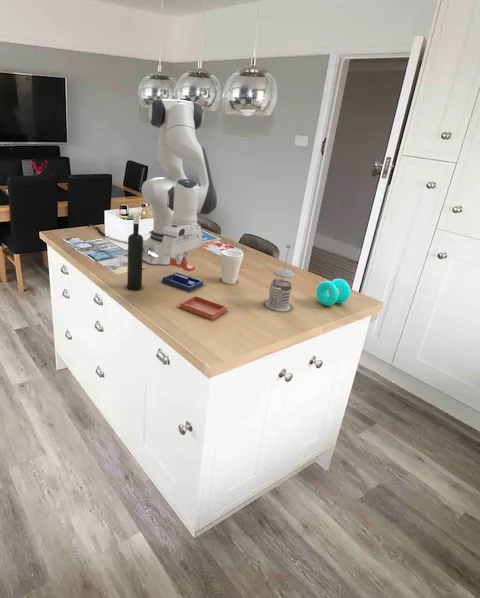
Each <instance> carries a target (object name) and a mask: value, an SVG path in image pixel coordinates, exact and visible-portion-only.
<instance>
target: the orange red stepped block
mask: <svg viewBox="0 0 480 598" xmlns="http://www.w3.org/2000/svg"><path fill="white" fill-rule="evenodd" d="M176 260H177V259H176V258H174V257H171V258H170V264H169V265H171V266H174V267H176V268H180V269H182V270H184V271H185V272H192V271H195V269H196V266H194V265H191V264H188V260H187V261H184V260H183V261H182V264H180V265H179V264H177V263H176Z"/></svg>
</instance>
